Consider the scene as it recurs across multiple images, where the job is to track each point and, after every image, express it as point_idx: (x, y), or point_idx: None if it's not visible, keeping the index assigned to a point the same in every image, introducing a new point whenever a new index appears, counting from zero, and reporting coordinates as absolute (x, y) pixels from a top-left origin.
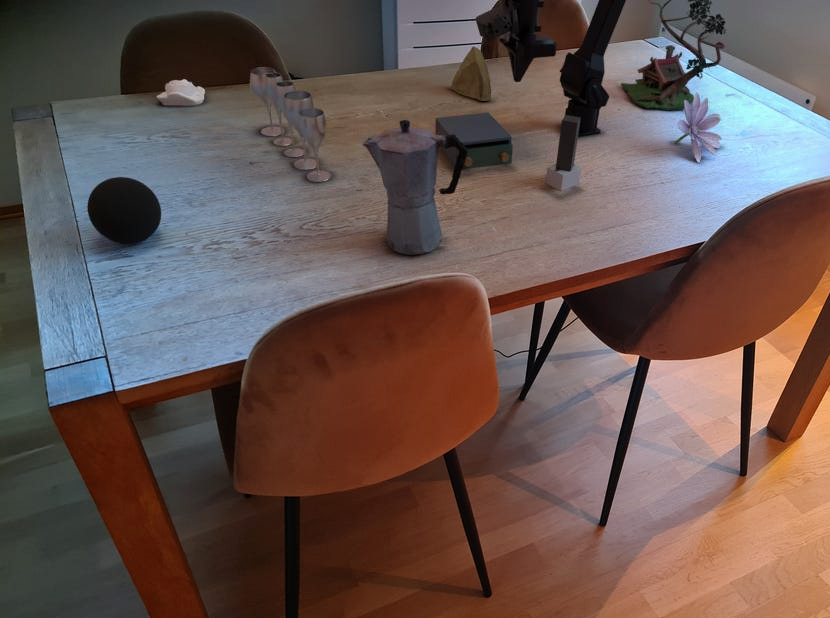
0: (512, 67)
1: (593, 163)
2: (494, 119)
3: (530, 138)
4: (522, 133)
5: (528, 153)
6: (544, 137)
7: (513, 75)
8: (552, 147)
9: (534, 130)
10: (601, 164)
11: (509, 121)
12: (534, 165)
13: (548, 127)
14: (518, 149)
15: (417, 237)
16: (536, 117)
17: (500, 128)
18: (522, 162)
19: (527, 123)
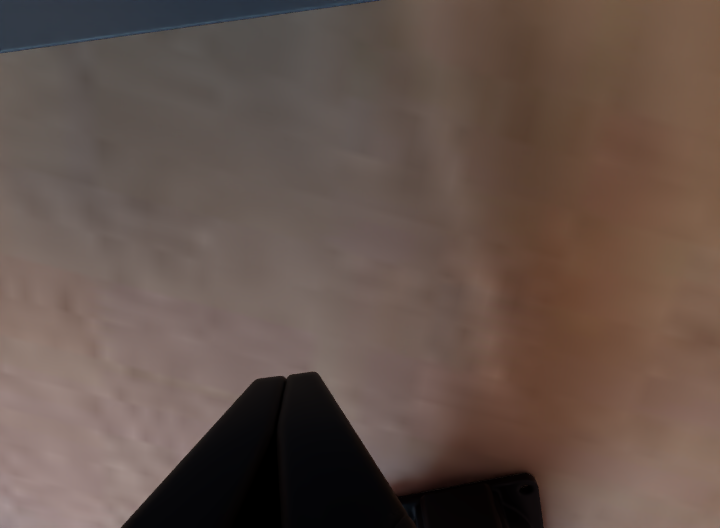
0: (302, 476)
1: (66, 494)
2: (243, 9)
3: (406, 282)
4: (486, 255)
5: (194, 216)
6: (406, 359)
7: (303, 405)
8: (269, 365)
9: (512, 332)
10: (57, 522)
11: (683, 223)
12: (22, 206)
13: (532, 411)
14: (257, 170)
15: None
16: (683, 386)
17: (14, 12)
18: (62, 145)
19: (619, 319)
